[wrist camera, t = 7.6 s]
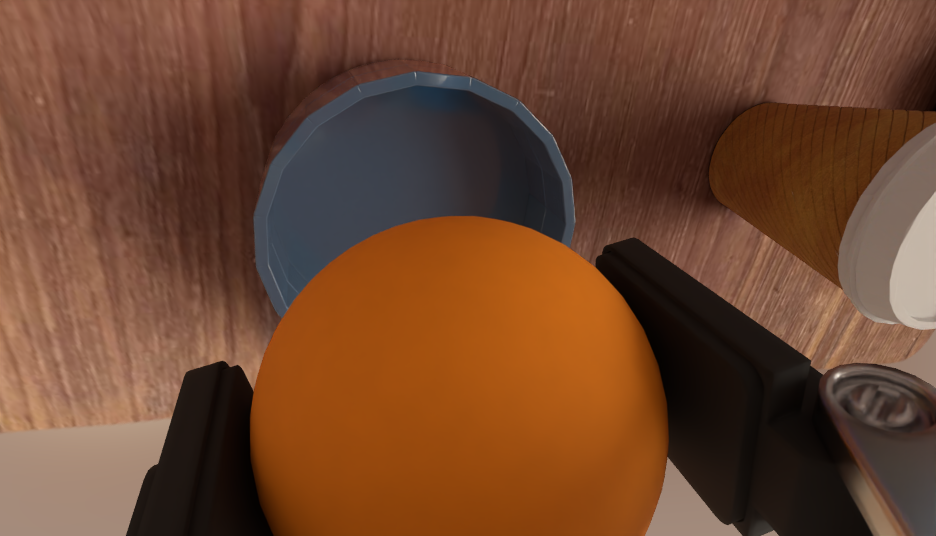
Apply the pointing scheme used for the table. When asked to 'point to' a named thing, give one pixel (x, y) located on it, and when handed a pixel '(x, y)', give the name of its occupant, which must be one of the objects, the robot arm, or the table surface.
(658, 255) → the robot arm
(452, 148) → the fruit bowl
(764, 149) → the disposable coffee cup
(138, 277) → the table surface
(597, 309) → the orange
